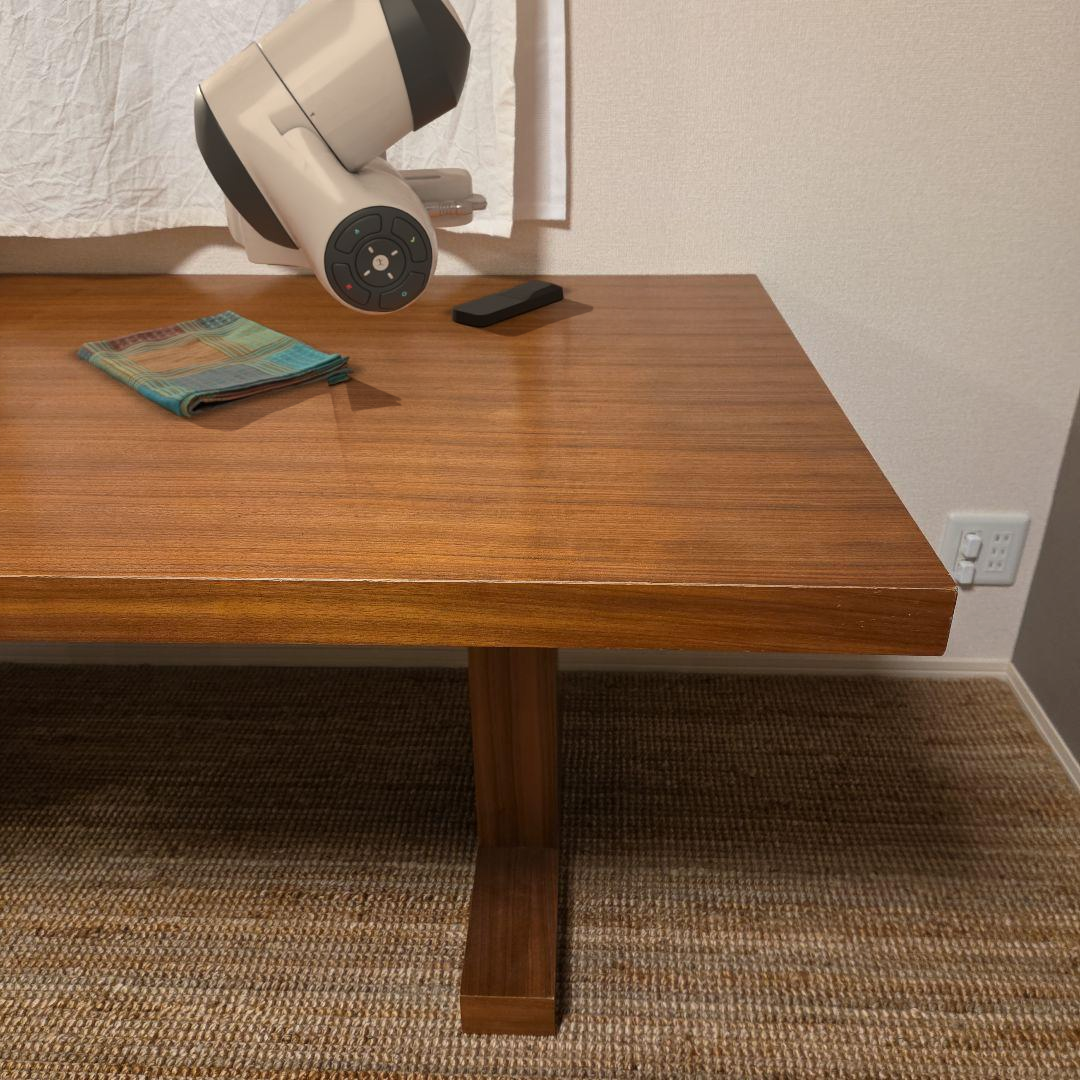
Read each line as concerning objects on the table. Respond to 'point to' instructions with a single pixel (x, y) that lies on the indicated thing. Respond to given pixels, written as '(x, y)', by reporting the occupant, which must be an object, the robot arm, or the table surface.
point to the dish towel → (212, 362)
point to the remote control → (507, 303)
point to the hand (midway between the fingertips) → (344, 185)
